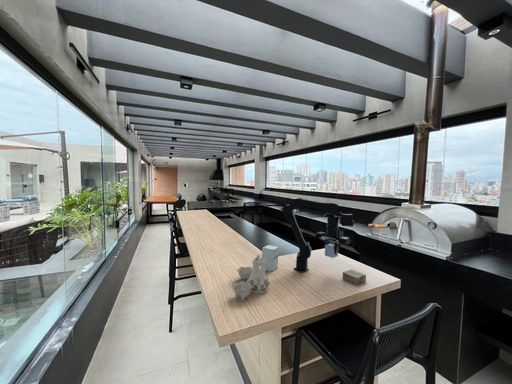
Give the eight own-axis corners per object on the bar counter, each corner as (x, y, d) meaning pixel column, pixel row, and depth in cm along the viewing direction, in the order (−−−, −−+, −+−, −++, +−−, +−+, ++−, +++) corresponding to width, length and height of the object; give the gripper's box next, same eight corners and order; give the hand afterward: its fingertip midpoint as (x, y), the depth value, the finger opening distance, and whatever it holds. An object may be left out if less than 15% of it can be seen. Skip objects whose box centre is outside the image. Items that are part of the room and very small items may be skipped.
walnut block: (356, 285, 108) (357, 277, 108) (342, 279, 114) (342, 272, 114) (365, 282, 112) (366, 274, 112) (351, 276, 119) (351, 269, 119)
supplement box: (272, 272, 120) (273, 249, 120) (260, 269, 124) (261, 247, 124) (278, 268, 127) (279, 246, 126) (267, 265, 130) (267, 244, 130)
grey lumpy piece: (235, 278, 114) (233, 247, 114) (266, 275, 115) (264, 245, 115) (233, 309, 86) (230, 268, 86) (274, 305, 87) (271, 264, 87)
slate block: (332, 257, 117) (333, 247, 117) (324, 255, 121) (325, 244, 120) (337, 256, 120) (338, 245, 120) (329, 253, 124) (330, 243, 124)
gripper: (356, 226, 118) (354, 255, 118) (325, 221, 132) (324, 246, 133) (345, 228, 111) (344, 259, 111) (315, 223, 125) (313, 249, 125)
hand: (331, 253), depth 120 cm, fingers closed on slate block, 5 cm apart
